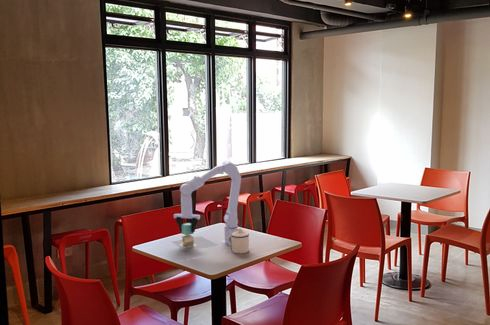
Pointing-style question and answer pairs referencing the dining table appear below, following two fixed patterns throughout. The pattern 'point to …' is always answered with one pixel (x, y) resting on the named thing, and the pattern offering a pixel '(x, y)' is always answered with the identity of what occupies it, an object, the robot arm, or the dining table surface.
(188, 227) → the teal block
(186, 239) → the birch block
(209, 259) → the dining table surface
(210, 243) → the gray board
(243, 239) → the teacup with lid
